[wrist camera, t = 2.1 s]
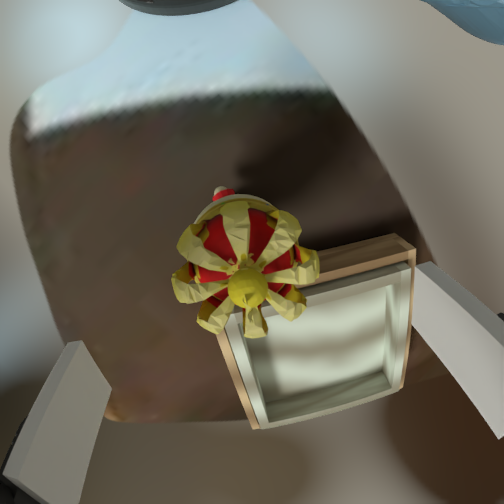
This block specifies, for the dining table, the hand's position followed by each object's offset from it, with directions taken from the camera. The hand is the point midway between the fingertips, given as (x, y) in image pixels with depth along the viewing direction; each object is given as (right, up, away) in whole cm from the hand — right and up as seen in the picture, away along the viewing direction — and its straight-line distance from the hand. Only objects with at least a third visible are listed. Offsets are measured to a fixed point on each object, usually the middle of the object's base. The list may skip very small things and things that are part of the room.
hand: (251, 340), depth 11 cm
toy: (-1, +6, +15) cm, 16 cm away
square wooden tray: (+7, -5, +20) cm, 22 cm away
